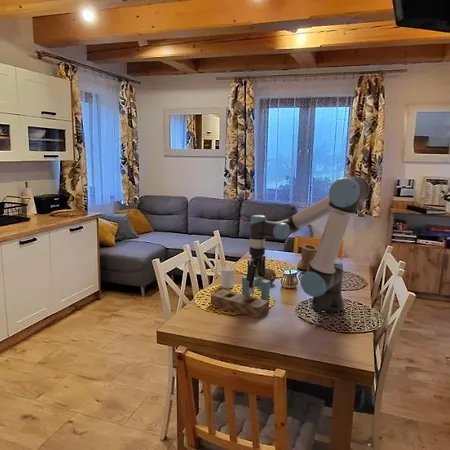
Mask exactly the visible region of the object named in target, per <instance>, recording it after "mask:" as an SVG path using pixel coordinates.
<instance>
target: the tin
mask: <svg viewBox="0 0 450 450" xmlns="http://www.w3.org/2000/svg"><path fill="white" fill-rule="evenodd" d="M255 277H256V278H257V277H258V271H257V268H256V273H255ZM276 278H277V274H276V272H275V271H274V270H273V269H271V268H266V267H265V277H263V279H265V280H269V281H270V285H271V284H273V283H274V282H275V281H276Z"/></svg>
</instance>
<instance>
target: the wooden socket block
mask: <svg viewBox="0 0 450 450" xmlns="http://www.w3.org/2000/svg"><path fill="white" fill-rule="evenodd" d="M211 304H212V305H215V306H214V307H216V306H218V307H217V308H219V307H221V308H220V309H223V308H224V309H223V310H226V309H227V311H231V312H234V313H236V314H240V315H244V316H246V317H247V316H248V317H250V318H254V319H259V318H260V317H263V316H264V315H266V314H268V313H269V309H270V300H269V301H266V300H262V299H261V298H257V297H254V296H251V295H250V296H246V295H243V294H242V293H238V292H234V291H231V290H226V289H221V290H219V291H217V292H214V293H212V294H211V295H210V305H211ZM212 305H211V306H212Z"/></svg>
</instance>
